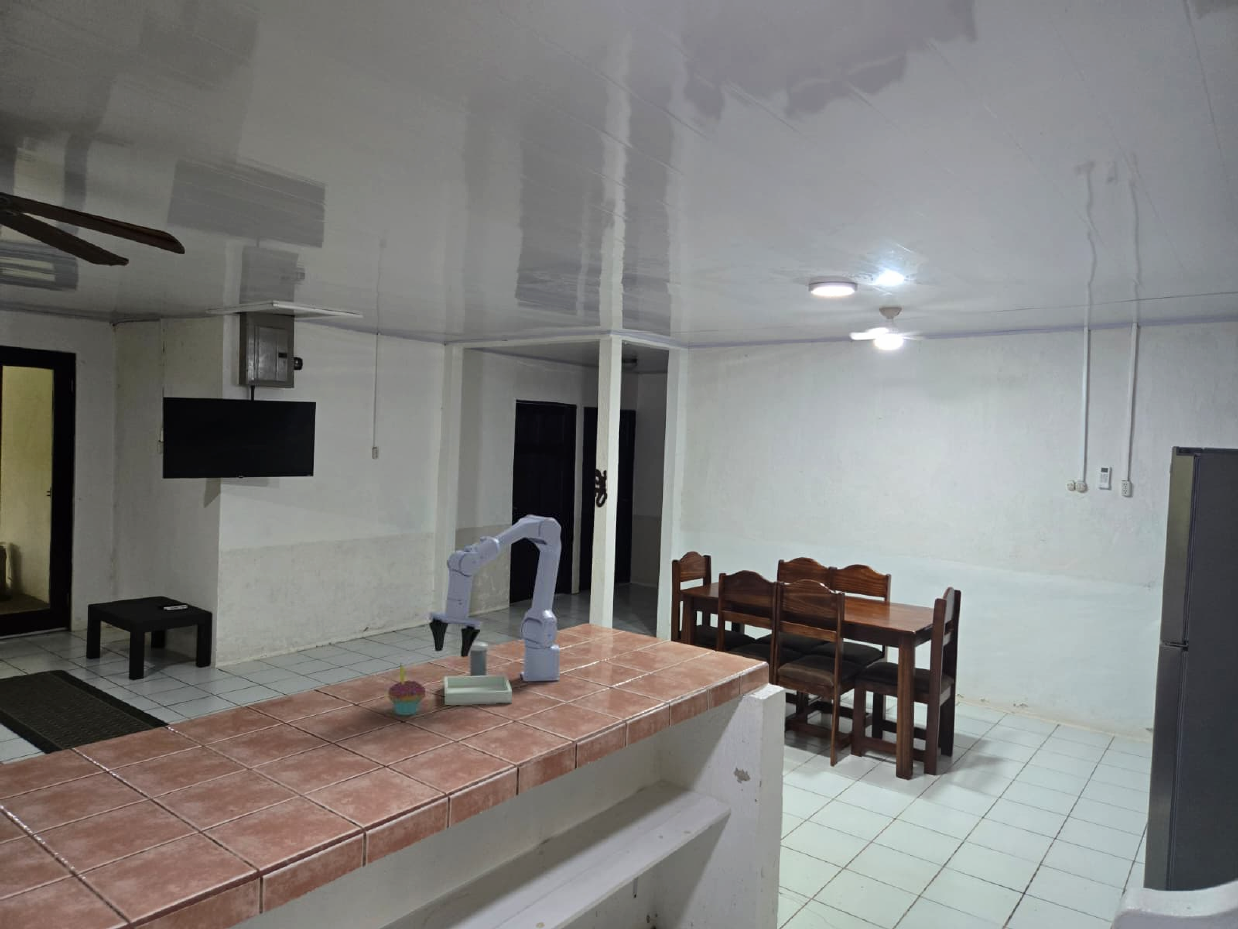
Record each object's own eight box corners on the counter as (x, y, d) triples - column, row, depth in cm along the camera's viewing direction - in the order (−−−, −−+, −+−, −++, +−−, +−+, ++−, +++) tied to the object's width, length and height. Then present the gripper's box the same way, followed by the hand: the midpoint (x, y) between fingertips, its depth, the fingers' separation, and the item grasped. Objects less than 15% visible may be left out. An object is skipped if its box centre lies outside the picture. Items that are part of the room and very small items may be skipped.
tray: (506, 686, 215) (506, 674, 215) (511, 703, 201) (512, 691, 201) (443, 688, 211) (444, 676, 211) (445, 706, 198) (445, 693, 198)
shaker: (485, 677, 222) (487, 642, 222) (487, 682, 217) (488, 646, 217) (468, 678, 221) (469, 642, 221) (469, 683, 216) (470, 646, 216)
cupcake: (402, 720, 187) (404, 668, 186) (379, 712, 192) (381, 661, 191) (432, 711, 193) (433, 661, 193) (409, 703, 199) (410, 654, 198)
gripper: (424, 595, 204) (417, 650, 203) (474, 604, 199) (467, 661, 198) (441, 594, 211) (434, 647, 210) (489, 603, 205) (482, 657, 204)
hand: (451, 653), depth 204 cm, fingers open, 7 cm apart
